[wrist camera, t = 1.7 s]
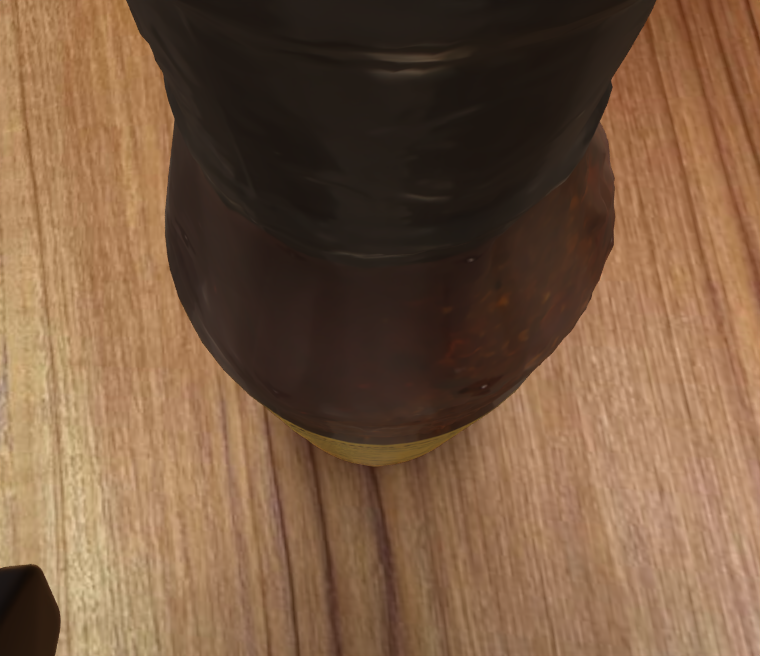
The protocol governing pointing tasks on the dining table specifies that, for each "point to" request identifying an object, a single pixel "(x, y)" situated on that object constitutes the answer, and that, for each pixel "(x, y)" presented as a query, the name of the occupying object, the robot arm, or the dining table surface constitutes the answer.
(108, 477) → the dining table surface
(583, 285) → the sauce bottle
